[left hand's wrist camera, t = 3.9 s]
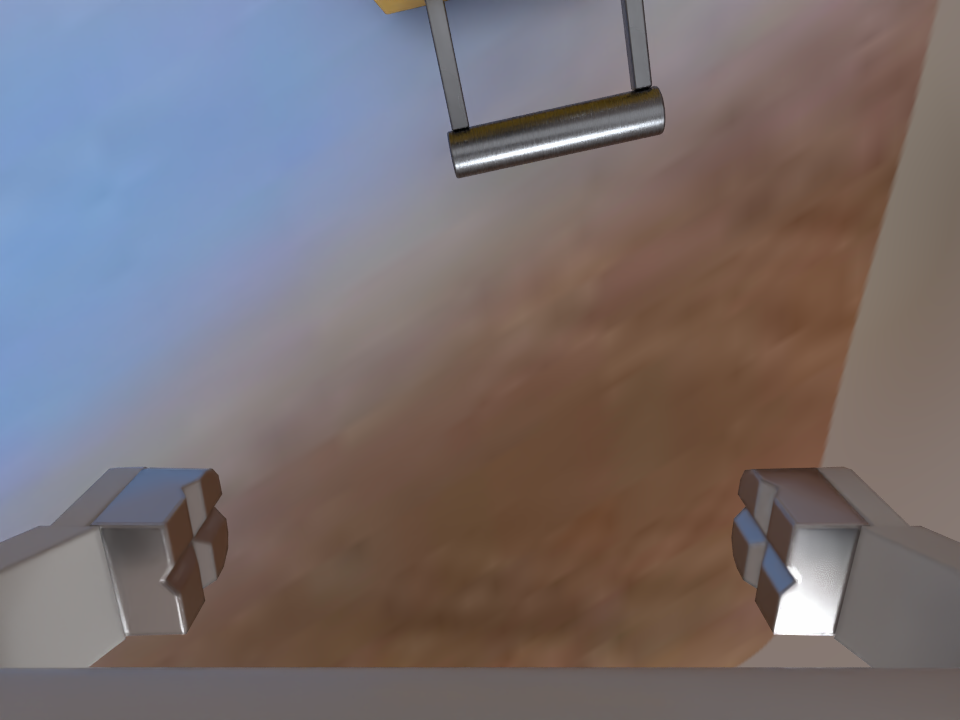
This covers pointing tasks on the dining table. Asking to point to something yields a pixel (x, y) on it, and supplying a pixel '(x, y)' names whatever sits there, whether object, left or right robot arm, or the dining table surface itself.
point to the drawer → (550, 127)
